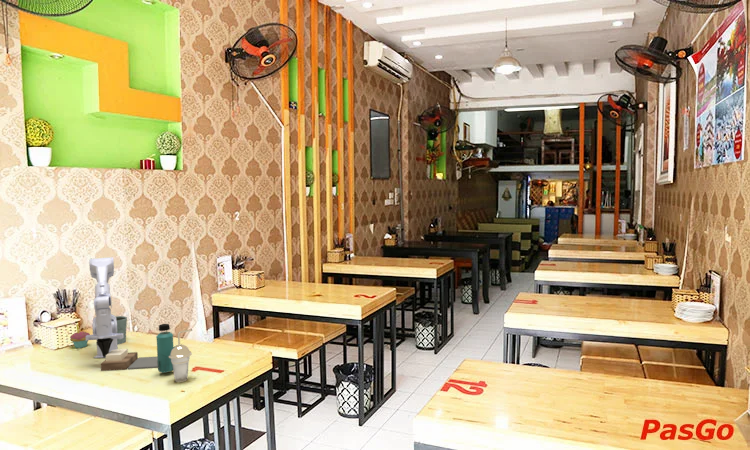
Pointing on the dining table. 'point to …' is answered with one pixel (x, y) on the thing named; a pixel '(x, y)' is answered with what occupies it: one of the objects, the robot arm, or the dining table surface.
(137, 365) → the mat
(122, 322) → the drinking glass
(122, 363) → the board
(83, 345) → the cupcake
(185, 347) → the cup with straw
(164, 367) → the beverage bottle
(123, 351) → the tile
